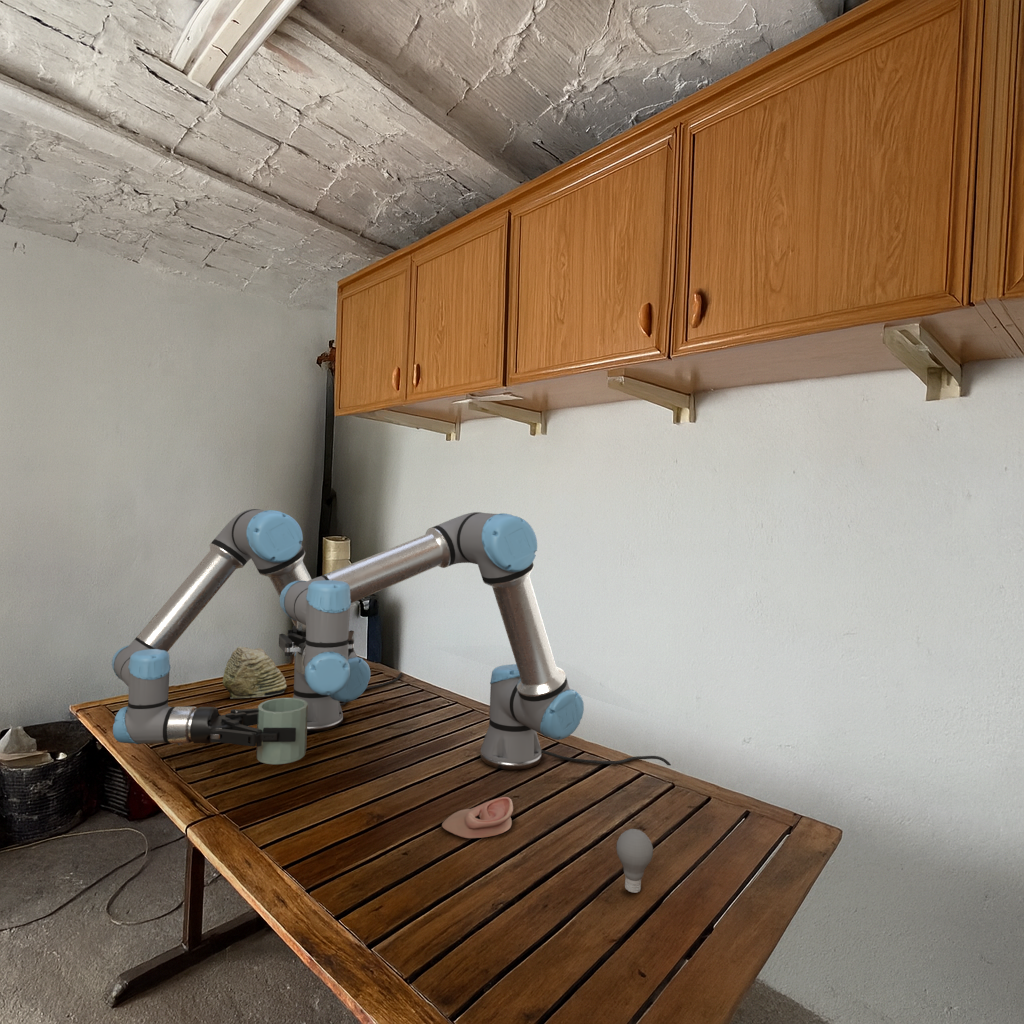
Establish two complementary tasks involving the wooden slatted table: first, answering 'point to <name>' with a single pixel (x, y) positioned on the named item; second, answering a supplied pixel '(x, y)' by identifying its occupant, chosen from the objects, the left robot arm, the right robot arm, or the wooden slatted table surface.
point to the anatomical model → (481, 819)
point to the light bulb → (634, 857)
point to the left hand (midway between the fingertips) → (301, 725)
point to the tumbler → (299, 662)
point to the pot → (283, 716)
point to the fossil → (252, 674)
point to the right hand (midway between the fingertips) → (314, 630)
